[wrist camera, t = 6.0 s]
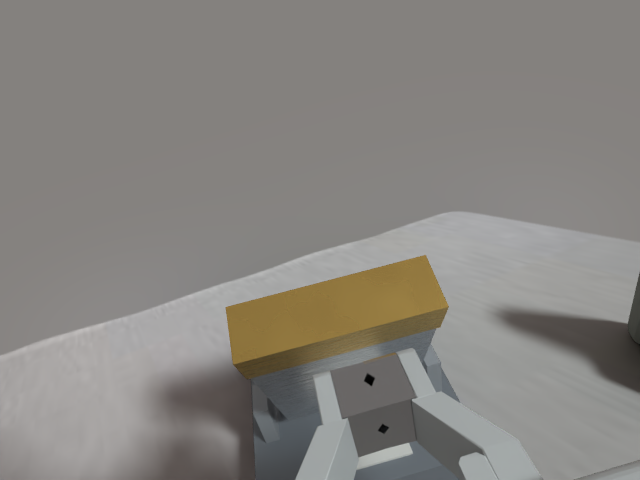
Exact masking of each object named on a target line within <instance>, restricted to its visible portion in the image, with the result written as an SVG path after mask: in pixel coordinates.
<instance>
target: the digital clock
mask: <svg viewBox="0 0 640 480" xmlns="http://www.w3.org/2000/svg"><path fill="white" fill-rule="evenodd" d="M628 331H629V333H630V335H631V337H632V338H633V340H634V341H635V342H637V343H638V344H640V273H639V278H638V282H637V286H636V291H635V295H634V299H633V304H632V308H631V312H630V316H629V321H628Z"/></svg>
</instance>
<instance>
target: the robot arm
mask: <svg viewBox="0 0 640 480" xmlns="http://www.w3.org/2000/svg"><path fill="white" fill-rule="evenodd" d="M330 371H331V373H330ZM330 371H327V372H323V373H319V374H315V375H313V381H314V386H315V391H316V397H317V402H318V407H319V412H320V417H321V422H322V425H321V426H317V428H316V431H315V433H314V436H313V438H312V440H311V443H310V445H309V448H308V450H307V452H306V455H305V457H304V460H303V462H302V464H301V467H300V469H299V472H298V474H297V477H296V479H295V480H354V477H355V473H356V469H357V465H358V461H359V457H362V456H365V455H368V454H371V453H374V452H377V451H380V450H383V449H387V448H390V447H394V446H398V445H402V444H406V443H410V442H414V441H417V443H419V444H420V445H421V446H422V447H423V448H424V449H425V450H427V451H428V452H429V453H430V454H431V455H432V456H434V457H435V458H436V459H437V460H438V461H439V462H440V463H442V464H443V465H444V466H445V467H446V468H447V469H448V470H450V471H451V472H452V473H453V474H454V475H455V476H457V477H458V478H459V480H543V478H542V477H541V475H540V474H539V472H538V470H537V469H536V467H535V466H534V464H533V462H532V461H531V459H530V458H529V456H528V454H527V453H526V451H525V450H524V448H523V446H522V445H521V443H520V442H519V440H518V439H517V438H515V437H514V436H512V435H511V434H509V433H507V432H506V431H504V430H503V429H501V428H499V427H498V426H496V425H494V424H493V423H491V422H490V421H488V420H486V419H485V418H483V417H482V416H480V415H478V414H477V413H475V412H474V411H472V410H470V409H469V408H467V407H466V406H464V405H462V404H461V403H459V402H458V401H456V400H454V399H453V398H451V397H450V396H448V395H446V394H445V393H443V392H442V391H440V392H436V391H435V389H434V387H433V385H432V383H431V381H430V379H429V377H428V375H427V373H426V371H425V369H424V367H423V365H422V363H421V361H420V359H419V357H418V355H417V353H416V351H415V350H414V349H413V348H409V349H406V350H402V351H398V352H396V353H395V352H394V353H391V354H387V355H384V356H380V357H377V358H374V359H370V360H367V361H363V362H362V363H358V364H354V365H350V366H346V367H342V368H338V369H334V370H330ZM574 480H640V460H638V461H634V462H631V463H628V464H624V465H621V466H618V467H614V468H611V469H608V470H604V471H601V472H598V473H594V474H591V475H588V476H584V477H581V478H578V479H574Z"/></svg>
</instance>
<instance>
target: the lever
mask: <svg viewBox="0 0 640 480" xmlns="http://www.w3.org/2000/svg"><path fill="white" fill-rule="evenodd" d="M448 307H449V306H448V304H447V302H446V300H445V297H444V295H443V293H442V291H441V288H440V286H439V284H438V282H437V279H436V277H435V275H434V273H433V270H432V268H431V266H430V264H429V261H428V259H427V257H426V255H424V256H420V257H416V258H412V259H409V260H405V261H401V262H397V263H393V264H389V265H386V266H382V267H378V268H374V269H370V270H366V271H363V272H359V273H355V274H351V275H347V276H343V277H340V278H336V279H332V280H328V281H324V282H320V283H317V284H313V285H309V286H305V287H301V288H297V289H294V290H290V291H286V292H282V293H278V294H274V295H271V296H267V297H263V298H259V299H255V300H251V301H248V302H244V303H240V304H236V305H232V306H228V307H226V314H227V321H228V329H229V337H230V345H231V352H232V360H233V365H234V366H235V367H236V368H237V369H238V370H239V371H240V372H241V374H242V375H243V376H244V377H245V378H246V379H251V380H252V381H253V382H254V383H255V384H256V385H257V386H258V387H259V388H260V389H261V391H262V392H263V393H264V394H265V395H266V396H267V397H268V398H269V399H270V400H271V401H272V403H273V404H274V405H275V406H276V407H277V408H278V409H279V412H280V415H281V418H282V419H286V418H287V419H288V420H293V419H297V418H300V417H304V416H307V415H311V414H315V413H318V412H319V407H318V402H317V397H316V391H315V386H314V381H313V375H315V374H319V373H323V372H327V371H330V370H334V369H338V368H342V367H346V366H350V365H354V364H358V363H362V362H363V361H367V360H370V359H374V358H377V357H380V356H384V355H387V354H391V353H394V352H395V353H396V352H398V351H402V350H406V349H409V348H413V349H414V350H415V351H416V353H417V355H418V357H419V359H420V361H421V363H423V361H424V358H425V356H426V353H427V351H428V348H429V346H430V343H431V341H432V338H433V336H434V333H435V330H436V328H439V327H441V324H442V322H443V319H444V317H445V314H446V312H447V310H448ZM330 373H331V371H330Z"/></svg>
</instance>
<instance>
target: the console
mask: <svg viewBox="0 0 640 480" xmlns="http://www.w3.org/2000/svg"><path fill="white" fill-rule="evenodd" d="M422 365H423V367H424V369H425V371H426V373H427V375H428V377H429V379H430V381H431V383H432V385H433V387H434V389H435V391H436V392H440V391H442V392H443V393H445V394H446V395H448V396H450V397H451V398H453V399H454V400H456V401H458V402H459V403H460V401H459V399H458V398H457V396H456V394H455V392H454V390H453V388H452V386H451V385H450V383H449V381H448V379H447V377H446V375H445V374H444V372H443V370H442V368H441V362H440V360H439V358H438V356H437V354H436V353H435V351H434V349H433V347H432V345H431V343H430V346H429V348H428V351H427V353H426V356H425V358H424V361H423V363H422ZM251 390H252V412H253V434H254V455H255V477H256V480H295V479H296V477H297V474H298V472H299V469H300V467H301V464H302V462H303V460H304V457H305V455H306V452H307V450H308V448H309V445H310V443H311V440H312V438H313V436H314V433H315V431H316V428H317V426H321V425H322V422H321V417H320V412H318V413H315V414H311V415H307V416H304V417H300V418H297V419H293V420H288V419H287V418H286V419H282V418H281V415H280V412H279V409H278V408H277V407H276V406H275V405H274V404H273V403H272V401H271V400H270V399H269V398H268V397H267V396H266V395H265V394H264V393H263V392H262V391H261V389H260V388H259V387H258V386H257V385H256V384H255V383H254V382H253V381H252V380H251ZM354 480H459V478H458V477H457V476H455V475H454V474H453V473H452V472H451V471H450V470H448V469H447V468H446V467H445V466H444V465H443V464H442V463H440V462H439V461H438V460H437V459H436V458H435V457H434V456H432V455H431V454H430V453H429V452H428V451H427V450H425V449H424V448H423V447H422V446H421V445H420V444H419V443H417V441H414V442H410V443H406V444H402V445H398V446H394V447H390V448H387V449H383V450H380V451H377V452H374V453H371V454H368V455H365V456H362V457H359V461H358V465H357V469H356V473H355V477H354Z"/></svg>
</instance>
